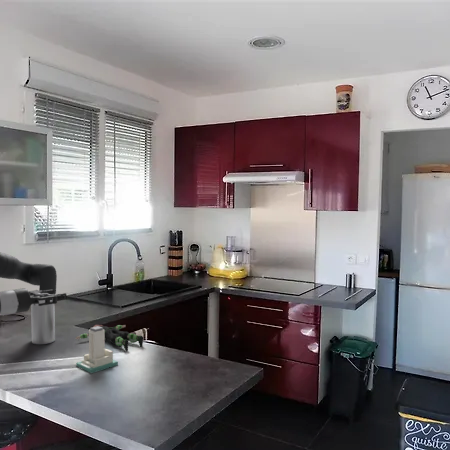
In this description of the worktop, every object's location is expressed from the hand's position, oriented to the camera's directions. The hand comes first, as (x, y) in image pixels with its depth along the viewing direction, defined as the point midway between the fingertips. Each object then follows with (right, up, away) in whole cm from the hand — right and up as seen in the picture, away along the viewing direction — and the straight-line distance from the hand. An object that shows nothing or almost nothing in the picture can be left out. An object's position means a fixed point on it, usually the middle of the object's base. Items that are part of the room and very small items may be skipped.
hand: (59, 294), depth 154 cm
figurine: (+9, -27, +39) cm, 48 cm away
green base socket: (+10, -28, +10) cm, 31 cm away
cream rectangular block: (+10, -26, +10) cm, 30 cm away
